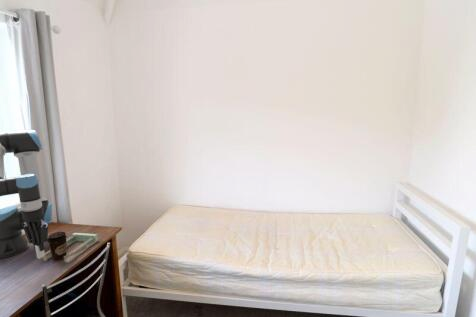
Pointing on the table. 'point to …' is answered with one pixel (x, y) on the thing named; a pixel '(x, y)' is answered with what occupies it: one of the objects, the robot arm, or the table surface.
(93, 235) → the backstop
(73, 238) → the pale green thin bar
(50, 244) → the coffee cup
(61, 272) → the table surface
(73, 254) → the rail outer
